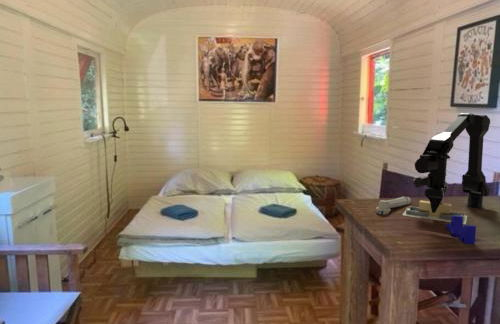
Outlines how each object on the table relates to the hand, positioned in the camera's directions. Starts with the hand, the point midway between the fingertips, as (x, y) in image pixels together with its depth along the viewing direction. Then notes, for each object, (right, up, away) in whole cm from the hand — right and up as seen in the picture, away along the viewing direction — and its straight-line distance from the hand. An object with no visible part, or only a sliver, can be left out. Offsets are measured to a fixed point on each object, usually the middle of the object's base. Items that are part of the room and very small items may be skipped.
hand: (434, 209), depth 148 cm
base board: (0, -3, 0) cm, 3 cm away
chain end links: (0, -2, 0) cm, 2 cm away
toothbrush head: (-12, -2, +11) cm, 17 cm away
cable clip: (-2, -7, -20) cm, 22 cm away
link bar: (0, -2, 0) cm, 2 cm away
